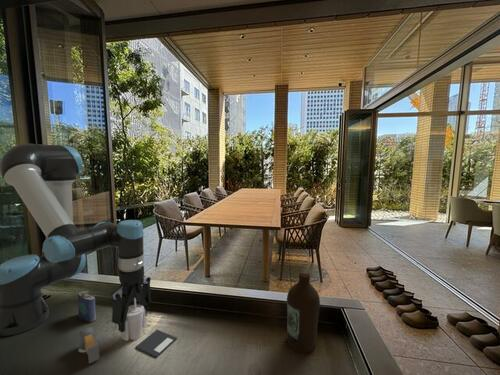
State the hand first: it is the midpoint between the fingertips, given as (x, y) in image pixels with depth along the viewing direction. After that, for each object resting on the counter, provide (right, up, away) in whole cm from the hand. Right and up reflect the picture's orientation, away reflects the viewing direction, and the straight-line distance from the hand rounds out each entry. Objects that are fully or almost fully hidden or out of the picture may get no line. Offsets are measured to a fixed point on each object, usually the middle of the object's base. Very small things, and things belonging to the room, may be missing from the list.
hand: (133, 332), depth 84 cm
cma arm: (-10, -2, -8) cm, 13 cm away
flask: (-22, 0, +9) cm, 24 cm away
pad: (+9, -2, -3) cm, 10 cm away
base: (-12, -2, -5) cm, 14 cm away
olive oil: (+57, -3, -1) cm, 57 cm away
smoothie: (+1, -2, 0) cm, 2 cm away
